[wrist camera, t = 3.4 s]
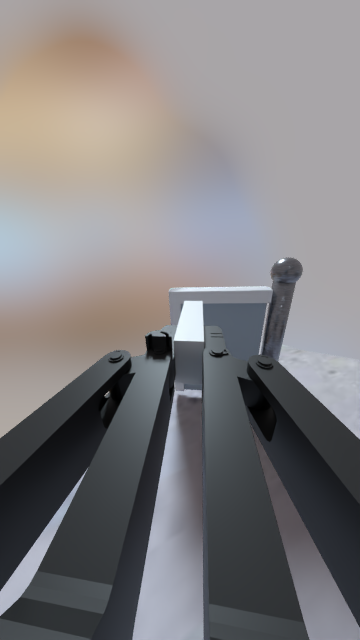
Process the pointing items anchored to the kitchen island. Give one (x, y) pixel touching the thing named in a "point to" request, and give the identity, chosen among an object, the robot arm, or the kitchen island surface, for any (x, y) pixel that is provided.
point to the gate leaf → (227, 316)
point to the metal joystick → (280, 304)
